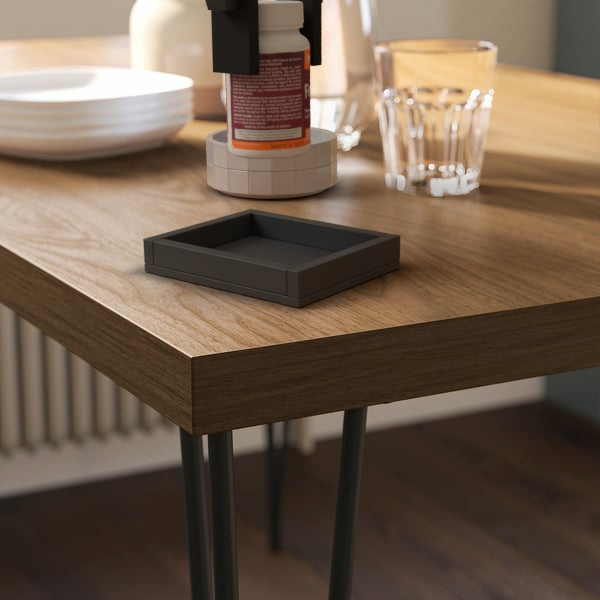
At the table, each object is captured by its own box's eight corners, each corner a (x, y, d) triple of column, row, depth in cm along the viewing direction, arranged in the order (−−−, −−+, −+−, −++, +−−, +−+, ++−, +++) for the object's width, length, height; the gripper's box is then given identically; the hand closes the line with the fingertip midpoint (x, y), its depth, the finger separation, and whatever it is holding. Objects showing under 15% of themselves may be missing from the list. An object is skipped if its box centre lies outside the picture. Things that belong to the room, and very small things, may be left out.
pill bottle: (324, 156, 66) (324, 2, 64) (245, 163, 64) (242, 5, 62) (290, 143, 70) (289, -2, 68) (215, 149, 68) (211, 0, 66)
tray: (400, 268, 69) (400, 235, 69) (298, 308, 62) (298, 271, 62) (251, 238, 76) (250, 208, 76) (144, 271, 69) (142, 238, 69)
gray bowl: (362, 183, 92) (362, 132, 91) (280, 207, 85) (280, 152, 84) (265, 168, 98) (264, 121, 97) (180, 189, 91) (178, 138, 90)
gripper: (311, -361, 68) (313, 51, 75) (74, -431, 54) (103, 79, 61) (422, -383, 63) (412, 58, 70) (192, -464, 50) (209, 90, 57)
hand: (268, 67), depth 66 cm, fingers closed on pill bottle, 5 cm apart
